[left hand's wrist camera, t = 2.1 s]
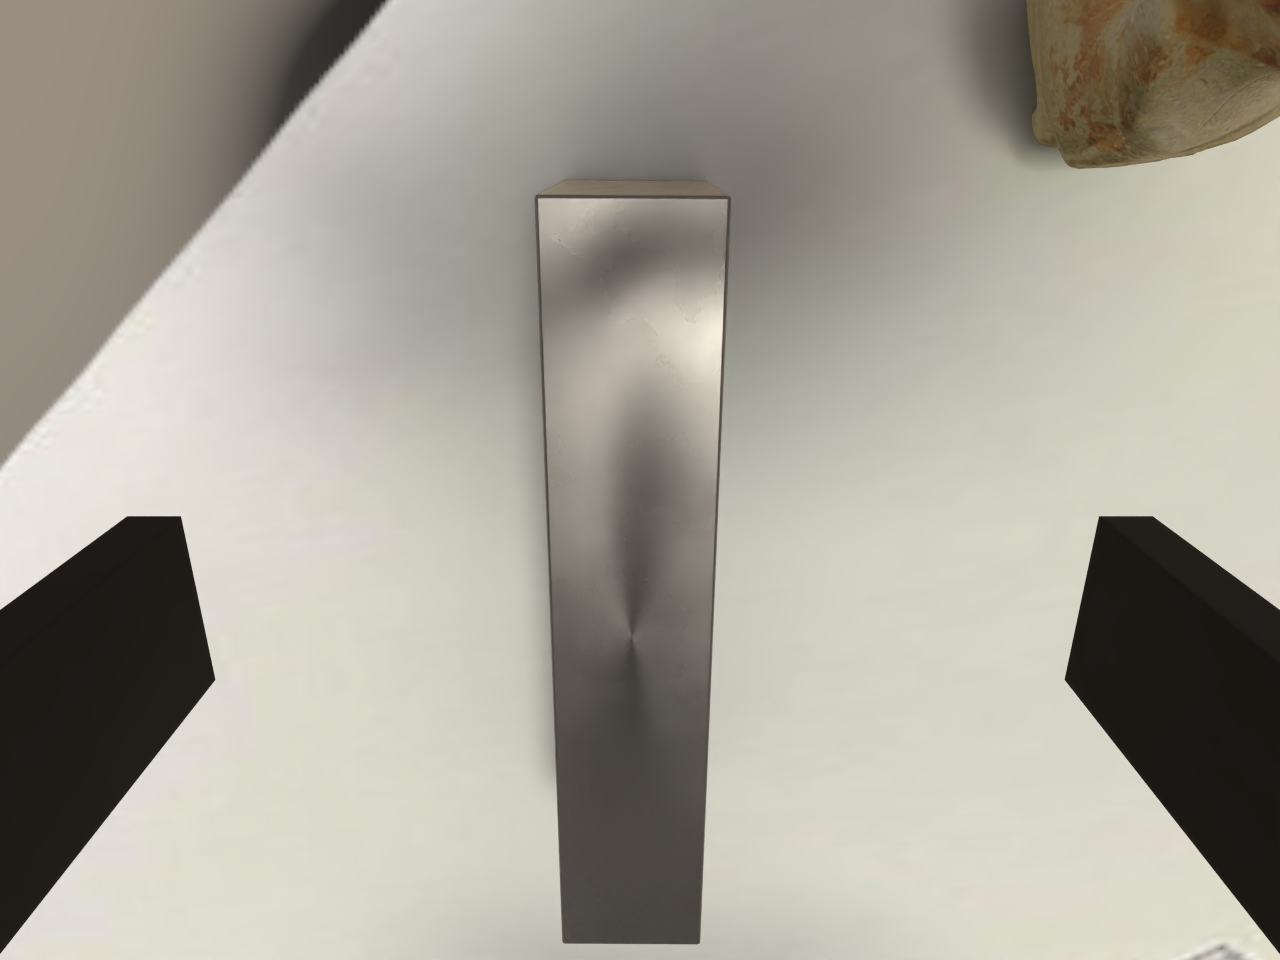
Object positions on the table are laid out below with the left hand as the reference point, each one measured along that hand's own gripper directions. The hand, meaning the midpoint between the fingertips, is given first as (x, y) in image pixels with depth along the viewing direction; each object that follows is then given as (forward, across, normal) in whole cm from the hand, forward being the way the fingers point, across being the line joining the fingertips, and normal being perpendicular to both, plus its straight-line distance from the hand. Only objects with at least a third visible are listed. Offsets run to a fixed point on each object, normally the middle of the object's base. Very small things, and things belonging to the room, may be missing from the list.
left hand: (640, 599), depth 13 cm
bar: (+21, 0, -8) cm, 22 cm away
